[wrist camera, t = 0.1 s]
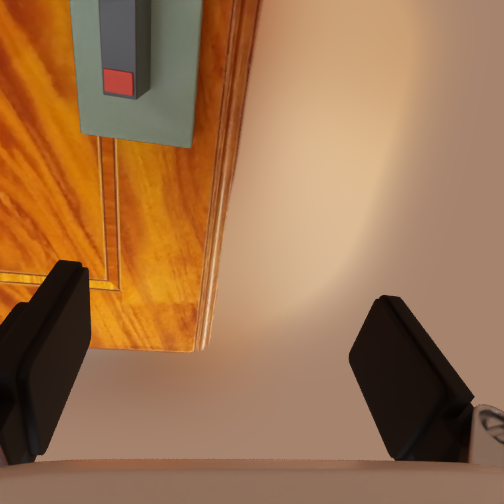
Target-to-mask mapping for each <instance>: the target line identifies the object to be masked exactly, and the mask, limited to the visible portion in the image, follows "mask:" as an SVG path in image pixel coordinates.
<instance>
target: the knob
mask: <svg viewBox="0 0 504 504" xmlns="http://www.w3.org/2000/svg"><path fill="white" fill-rule="evenodd" d="M98 4H99V23H100V43H101V62H102V82H103V94H104V95H108V96H115V97H121V98H127V99H134V100H137V99H138V98H139V97H141V96H142V95H143V94H145V93H146V92H148V91H149V90H150V72H151V0H98Z"/></svg>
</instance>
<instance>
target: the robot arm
mask: <svg viewBox="0 0 504 504" xmlns="http://www.w3.org/2000/svg"><path fill="white" fill-rule="evenodd" d="M90 340H91V316H90V290H89V270H88V268H86V267H82V263H81V262H76V261H67V260H59V261H58V262H57V263H56V264H55V266H54V267H53V269H52V270H51V272H50V273H49V274H48V276H47V277H46V279H45V280H44V281H43V283H42V284H41V286H40V287H39V288H38V290H37V291H36V293H35V294H34V295H33V297H32V298H31V300H30V301H29V303H28V302H20V303H18V304H17V305H16V306H15V307H14V308H13V309H12V311H11V312H10V313H9V314H8V316H7V317H6V318H5V320H4V321H3V322H2V324H1V325H0V504H504V412H503V411H502V410H500V409H498V408H496V407H493V406H489V405H485V404H484V405H483V404H482V405H478V406H476V407H475V408H474V407H473V405H472V404H471V403H470V402H471V401H472V400H473V398H474V395H473V394H472V392H471V391H470V390H469V388H468V387H467V386H466V384H465V383H464V382H463V380H462V379H461V378H460V377H459V375H458V374H457V372H456V371H455V370H454V368H453V367H452V366H451V365H450V363H449V362H448V360H447V359H446V358H445V356H444V355H443V354H442V352H441V351H440V350H439V348H438V347H437V346H436V344H435V343H434V342H433V340H432V339H431V337H430V336H429V335H428V333H427V332H426V331H425V329H424V328H423V327H422V325H421V324H420V323H419V321H418V320H417V319H416V317H415V316H414V315H413V313H412V312H411V311H410V309H409V308H408V307H407V305H406V304H405V303H404V301H403V300H402V299H401V298H400V297H396V296H388V295H382V296H380V298H379V299H376V300H375V301H374V303H373V305H372V307H371V309H370V311H369V313H368V315H367V317H366V319H365V322H364V324H363V326H362V328H361V330H360V332H359V334H358V336H357V338H356V340H355V342H354V344H353V347H352V348H351V351H350V353H349V363H350V366H351V368H352V370H353V372H354V375H355V377H356V380H357V382H358V384H359V386H360V389H361V391H362V393H363V396H364V398H365V400H366V403H367V405H368V407H369V410H370V412H371V414H372V416H373V419H374V421H375V423H376V426H377V428H378V430H379V433H380V435H381V437H382V440H383V442H384V444H385V447H386V449H387V451H388V453H389V455H390V456H391V457H392V458H394V459H395V461H368V460H367V461H365V460H273V459H269V460H268V459H266V460H265V459H262V460H261V459H259V460H258V459H101V460H64V461H45V462H34V461H35V459H36V456H37V455H43V454H44V453H45V452H46V450H47V448H48V446H49V443H50V441H51V438H52V436H53V433H54V431H55V428H56V426H57V423H58V421H59V419H60V416H61V414H62V411H63V408H64V406H65V404H66V401H67V399H68V396H69V394H70V391H71V389H72V387H73V384H74V382H75V379H76V377H77V374H78V372H79V369H80V367H81V364H82V362H83V359H84V357H85V355H86V352H87V350H88V347H89V344H90Z"/></svg>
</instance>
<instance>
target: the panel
mask: <svg viewBox="0 0 504 504" xmlns="http://www.w3.org/2000/svg"><path fill="white" fill-rule="evenodd" d="M69 1H70V13H71V25H72V36H73V48H74V60H75V71H76V83H77V95H78V106H79V118H80V130H81V133H82V134H88V135H95V136H102V137H110V138H117V139H124V140H132V141H139V142H146V143H154V144H161V145H168V146H176V147H183V148H191V147H192V142H193V137H194V125H195V112H196V98H197V85H198V72H199V58H200V45H201V31H202V18H203V5H204V0H151V72H150V90H149V91H148V92H146V93H145V94H143V95H142V96H141V97H139V98H138V99H137V100H134V99H127V98H121V97H115V96H108V95H104V94H103V82H102V62H101V43H100V23H99V4H98V0H69Z"/></svg>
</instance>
